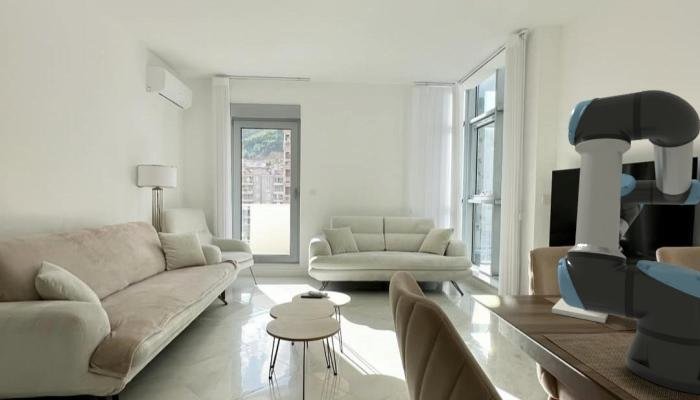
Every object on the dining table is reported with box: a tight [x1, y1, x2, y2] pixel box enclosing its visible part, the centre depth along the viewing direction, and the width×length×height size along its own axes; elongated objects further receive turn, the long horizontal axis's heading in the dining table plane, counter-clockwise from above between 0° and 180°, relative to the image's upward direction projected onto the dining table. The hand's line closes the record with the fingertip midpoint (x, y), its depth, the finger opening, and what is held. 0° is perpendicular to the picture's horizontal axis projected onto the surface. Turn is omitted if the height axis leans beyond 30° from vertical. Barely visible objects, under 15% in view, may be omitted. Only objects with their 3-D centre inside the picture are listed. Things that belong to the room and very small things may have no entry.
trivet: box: [551, 297, 609, 324], centre depth 115 cm, size 15×14×2 cm
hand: (574, 282), depth 114 cm, fingers closed on cup, 8 cm apart
